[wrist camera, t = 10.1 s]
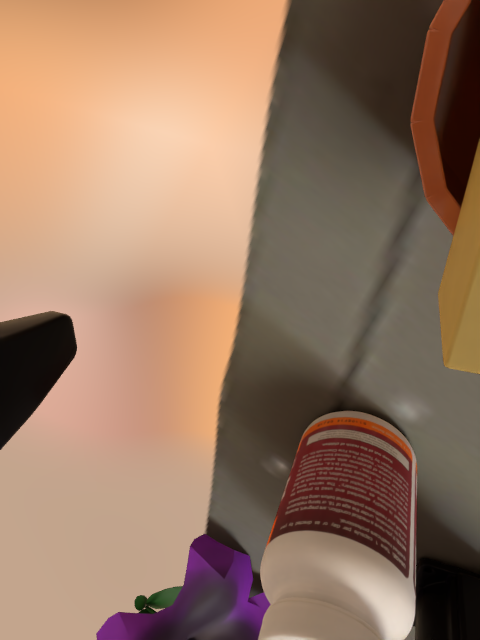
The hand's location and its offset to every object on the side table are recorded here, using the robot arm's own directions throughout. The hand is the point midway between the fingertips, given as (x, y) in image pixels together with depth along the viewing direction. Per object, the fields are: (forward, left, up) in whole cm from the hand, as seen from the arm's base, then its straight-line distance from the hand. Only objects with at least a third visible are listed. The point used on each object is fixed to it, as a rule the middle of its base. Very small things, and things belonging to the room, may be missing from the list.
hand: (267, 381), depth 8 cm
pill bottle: (-13, -2, -12) cm, 18 cm away
